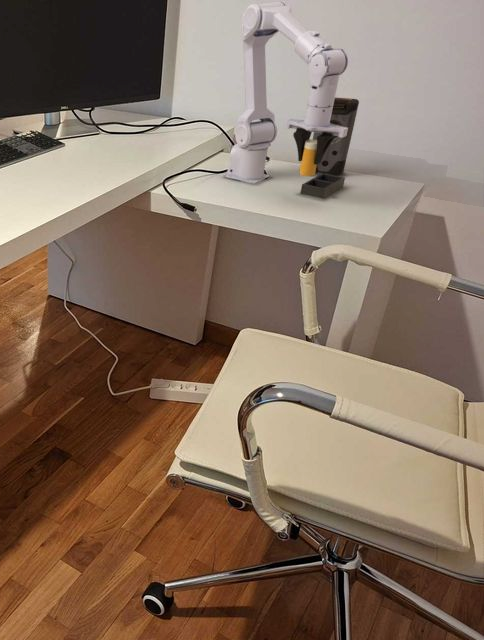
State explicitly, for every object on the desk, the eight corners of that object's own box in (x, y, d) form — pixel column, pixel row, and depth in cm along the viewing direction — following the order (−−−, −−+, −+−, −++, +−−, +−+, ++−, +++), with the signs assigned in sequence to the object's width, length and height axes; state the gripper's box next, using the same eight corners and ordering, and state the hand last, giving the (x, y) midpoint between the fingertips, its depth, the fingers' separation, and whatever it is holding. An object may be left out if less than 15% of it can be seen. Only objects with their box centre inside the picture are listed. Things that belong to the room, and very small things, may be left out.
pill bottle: (296, 174, 167) (302, 141, 162) (303, 170, 169) (309, 138, 164) (310, 177, 164) (317, 144, 160) (317, 173, 166) (324, 141, 162)
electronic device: (304, 174, 188) (318, 101, 177) (309, 168, 192) (323, 96, 181) (340, 178, 184) (356, 103, 173) (344, 172, 188) (360, 98, 177)
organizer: (299, 194, 175) (302, 184, 173) (320, 183, 181) (322, 173, 180) (322, 200, 171) (324, 189, 169) (342, 188, 177) (345, 177, 176)
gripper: (283, 104, 160) (274, 160, 167) (342, 112, 151) (330, 171, 158) (297, 98, 164) (287, 153, 171) (356, 106, 155) (343, 164, 162)
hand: (309, 161), depth 165 cm, fingers closed on pill bottle, 3 cm apart
